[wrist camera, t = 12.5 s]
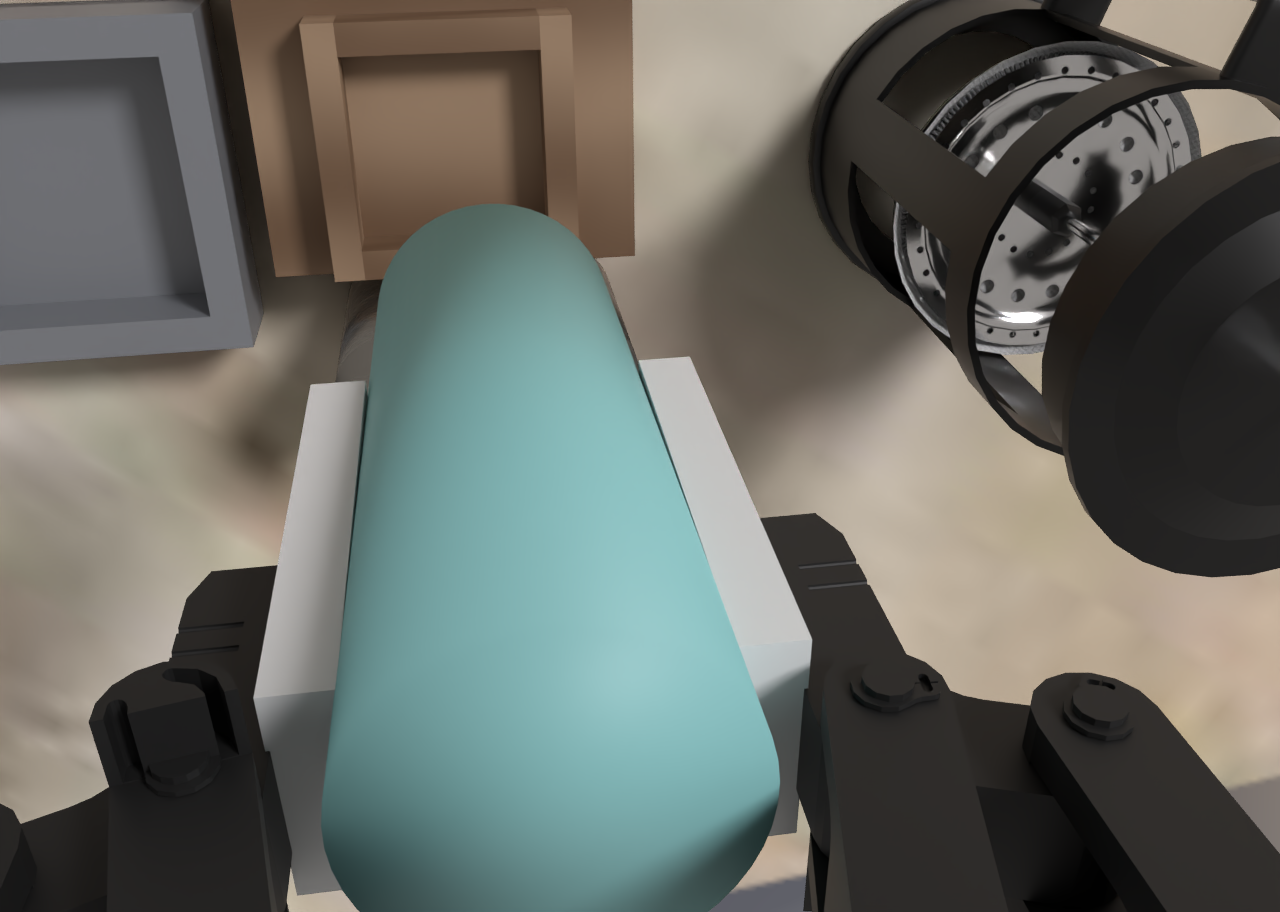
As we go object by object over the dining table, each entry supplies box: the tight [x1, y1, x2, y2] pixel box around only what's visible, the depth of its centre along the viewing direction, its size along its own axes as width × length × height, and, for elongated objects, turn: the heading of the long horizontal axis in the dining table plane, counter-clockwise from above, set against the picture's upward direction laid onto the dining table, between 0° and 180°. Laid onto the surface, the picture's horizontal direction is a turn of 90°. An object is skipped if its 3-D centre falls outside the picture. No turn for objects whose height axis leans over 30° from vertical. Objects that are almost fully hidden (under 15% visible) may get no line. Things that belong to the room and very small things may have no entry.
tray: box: [0, 0, 264, 365], centre depth 32 cm, size 9×9×2 cm
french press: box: [809, 0, 1280, 577], centre depth 27 cm, size 12×9×23 cm
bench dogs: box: [336, 258, 639, 394], centre depth 35 cm, size 3×8×6 cm, turn 90°
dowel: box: [321, 204, 780, 912], centre depth 16 cm, size 4×4×12 cm
